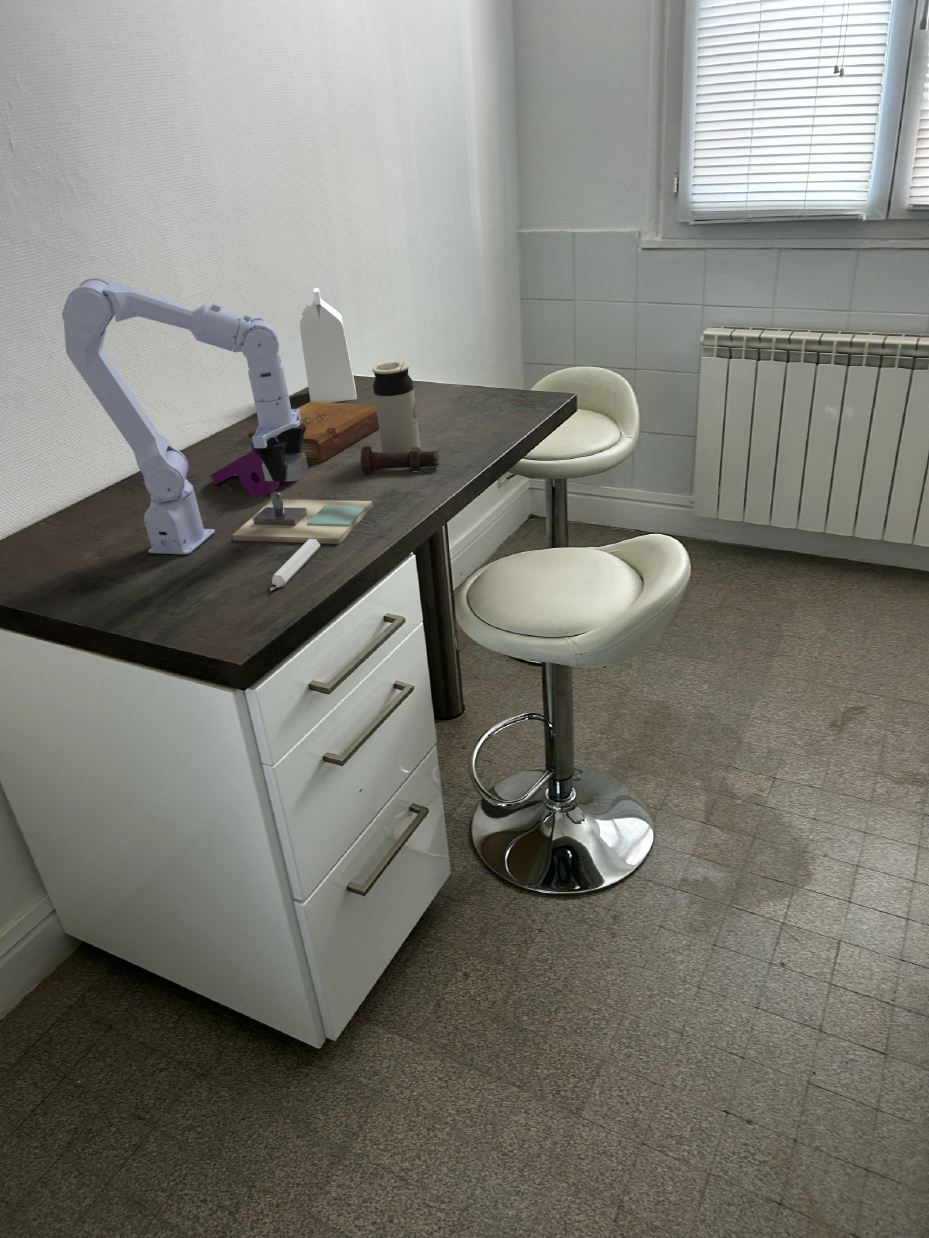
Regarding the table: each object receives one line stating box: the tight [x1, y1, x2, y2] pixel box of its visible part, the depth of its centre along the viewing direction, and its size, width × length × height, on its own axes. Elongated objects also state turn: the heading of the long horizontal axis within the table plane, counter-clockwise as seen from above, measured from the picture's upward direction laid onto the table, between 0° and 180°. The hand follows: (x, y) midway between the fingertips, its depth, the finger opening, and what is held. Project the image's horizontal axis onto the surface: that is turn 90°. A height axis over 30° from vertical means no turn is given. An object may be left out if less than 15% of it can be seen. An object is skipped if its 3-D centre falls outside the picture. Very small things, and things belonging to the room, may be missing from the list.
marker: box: [269, 539, 321, 591], centre depth 146 cm, size 3×2×16 cm
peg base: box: [253, 491, 307, 526], centre depth 161 cm, size 5×8×5 cm, turn 74°
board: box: [231, 498, 374, 545], centre depth 162 cm, size 16×20×1 cm
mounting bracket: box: [209, 439, 292, 497], centre depth 181 cm, size 10×8×18 cm
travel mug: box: [371, 361, 422, 453], centre depth 186 cm, size 8×8×18 cm
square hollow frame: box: [262, 453, 309, 482], centre depth 157 cm, size 6×6×3 cm
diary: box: [247, 401, 379, 464], centre depth 201 cm, size 23×19×6 cm
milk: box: [299, 287, 358, 403], centre depth 228 cm, size 12×12×26 cm
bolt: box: [360, 445, 440, 476], centre depth 181 cm, size 6×5×15 cm
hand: (287, 474), depth 158 cm, fingers closed on square hollow frame, 6 cm apart
